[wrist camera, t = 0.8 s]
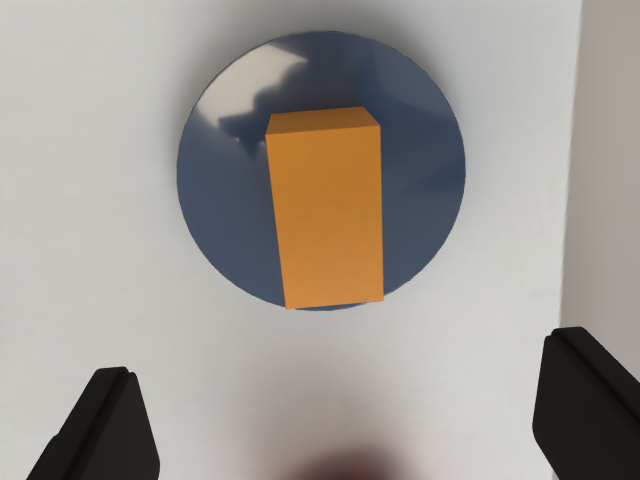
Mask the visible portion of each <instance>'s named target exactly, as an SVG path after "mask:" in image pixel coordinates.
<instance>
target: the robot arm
mask: <svg viewBox="0 0 640 480" xmlns="http://www.w3.org/2000/svg"><path fill="white" fill-rule="evenodd" d="M532 429H533V434H534V437H535V440H536V442H537V444H538V445H539V447H540V449H541V450H542V452H543V453H544V455H545V457H546V458H547V460H548V462H549V463H550V465H551V467H552V468H553V470H554V472H555V473H556V475H557V476H558V478H559V480H640V383H639V382H638V381H637V380H636V379H635V378H634V377H633V376H632V375H631V374H630V373H629V372H628V371H627V370H626V369H625V368H624V367H623V366H622V365H621V364H620V363H619V362H618V361H617V360H616V359H615V358H614V357H613V356H612V355H611V354H610V353H609V352H608V351H607V350H605V348H604V347H603V346H602V345H601V344H600V343H599V342H598V341H597V340H596V339H595V338H594V337H593V336H592V335H591V334H590V333H588V331H587V330H586V329H584V328H583V327H567V328H556V329H554V330H553V331H552V333H551V335H550V336H546V338H545V341H544V347H543V354H542V361H541V368H540V374H539V381H538V388H537V395H536V402H535V409H534V416H533V423H532ZM159 472H160V460H159V456H158V452H157V449H156V445H155V441H154V438H153V434H152V430H151V427H150V423H149V419H148V416H147V412H146V408H145V405H144V401H143V397H142V394H141V390H140V386H139V383H138V379H137V376H136V374H135V373H134V372H130V373H129V372H128V369H127V368H126V367H112V368H100V369H98V370H96V371H95V373H94V374H93V376H92V378H91V379H90V381H89V383H88V384H87V386H86V388H85V389H84V391H83V393H82V394H81V396H80V398H79V399H78V401H77V403H76V404H75V406H74V408H73V409H72V411H71V413H70V414H69V416H68V418H67V419H66V421H65V423H64V424H63V426H62V428H61V429H60V431H59V433H58V434H57V435H55V436H54V437H53V438H52V439H51V440H50V442H49V443H48V444H47V446H46V448H45V449H44V451H43V453H42V454H41V456H40V458H39V459H38V461H37V462H36V464H35V466H34V467H33V469H32V471H31V472H30V474H29V476H28V477H27V479H26V480H158V477H159Z"/></svg>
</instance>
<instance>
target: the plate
mask: <svg viewBox="0 0 640 480" xmlns="http://www.w3.org/2000/svg"><path fill="white" fill-rule="evenodd" d="M362 106H363V107H364V108H365V109H366V110H367V111H368V112H369V114H370V115H371V116H372V117H373V118H374V119H375V120H376V121H377V122H378V124H379V125H380V138H381V191H382V244H383V296H385V295H387V294H389V293H391V292H393V291H395V290H396V289H398V288H399V287H401V286H402V285H404V284H405V283H407V282H408V281H410V280H411V279H412V278H413V277H414V276H415V275H417V274H418V273H419V272H420V271H421V270H422V269H423V268H424V267H425V266H426V265H427V264H428V263H429V262H430V261H431V260H432V259H433V258H434V256H435V255H436V253H437V252H438V251H439V249H440V248H441V247H442V245H443V244H444V242H445V240H446V239H447V237H448V235H449V233H450V231H451V230H452V228H453V225H454V223H455V220H456V218H457V215H458V213H459V209H460V205H461V202H462V198H463V194H464V185H465V177H466V165H465V152H464V145H463V139H462V136H461V132H460V129H459V125H458V122H457V120H456V117H455V115H454V113H453V111H452V109H451V106H450V104H449V103H448V101H447V100H446V98H445V96H444V95H443V93H442V92H441V90H440V89H439V87H438V86H437V85H436V84H435V83H434V81H433V80H432V79H431V78H430V77H429V76H428V74H427V73H426V72H425V71H423V70H422V69H421V68H420V67H419V66H418V65H416V64H415V63H414V62H413V61H412V60H411V59H409V58H408V57H406V56H404V55H403V54H401V53H400V52H398V51H397V50H395V49H394V48H391V47H389V46H387V45H385V44H383V43H380V42H378V41H376V40H373V39H370V38H366V37H363V36H359V35H356V34H351V33H343V32H336V31H309V32H303V33H296V34H290V35H287V36H283V37H280V38H277V39H273V40H270V41H268V42H266V43H264V44H262V45H259V46H257V47H255V48H253V49H251V50H249V51H248V52H246V53H245V54H243V55H242V56H240V57H238V58H237V59H235V60H234V61H232V62H231V63H230V64H229V65H228V66H227V67H226V68H224V69H223V70H222V71H221V72H220V73H219V74H218V75H217V76H216V77H215V78H214V79H213V80H212V82H211V83H210V84H209V85H208V86H207V87H206V89H205V90H204V91H203V93H202V94H201V96H200V97H199V99H198V100H197V102H196V104H195V105H194V107H193V109H192V111H191V113H190V115H189V117H188V120H187V122H186V124H185V127H184V130H183V134H182V137H181V140H180V144H179V150H178V157H177V189H178V196H179V202H180V205H181V209H182V213H183V216H184V219H185V221H186V224H187V226H188V229H189V231H190V233H191V235H192V237H193V239H194V240H195V242H196V244H197V245H198V247H199V249H200V250H201V251H202V253H203V254H204V255H205V257H206V258H207V259H208V260H209V262H210V263H211V264H212V265H213V266H214V267H215V268H216V269H217V270H218V271H219V272H220V273H221V274H222V275H223V276H224V277H226V278H227V279H228V280H229V281H231V282H232V283H233V284H235V285H236V286H237V287H239V288H241V289H242V290H244V291H246V292H247V293H249V294H251V295H253V296H255V297H257V298H260V299H262V300H264V301H266V302H269V303H273V304H276V305H279V306H282V307H286V306H285V298H284V289H283V281H282V272H281V264H280V255H279V247H278V239H277V230H276V222H275V213H274V205H273V196H272V188H271V180H270V171H269V163H268V154H267V146H266V137H265V135H266V131H267V128H268V124H269V121H270V117H271V114H276V113H288V112H300V111H313V110H325V109H337V108H350V107H362ZM366 303H369V302H363V303H352V304H340V305H329V306H317V307H306V308H294V309H297V310H308V311H332V310H339V309H346V308H351V307H355V306H359V305H363V304H366Z"/></svg>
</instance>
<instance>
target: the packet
mask: <svg viewBox="0 0 640 480" xmlns="http://www.w3.org/2000/svg"><path fill="white" fill-rule="evenodd" d="M265 137H266V146H267V154H268V163H269V171H270V180H271V188H272V196H273V205H274V213H275V222H276V230H277V239H278V247H279V255H280V264H281V272H282V281H283V289H284V298H285V306H286V309H294V308H306V307H317V306H329V305H340V304H352V303H363V302H375V301H383V300H384V296H383V244H382V191H381V138H380V125H379V124H378V122H377V121H376V120H375V119H374V118H373V117H372V116H371V115H370V114H369V112H368V111H367V110H366V109H365V108H364V107H363V106H362V107H350V108H337V109H325V110H313V111H300V112H288V113H276V114H271V117H270V121H269V124H268V128H267V131H266V135H265Z"/></svg>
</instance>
